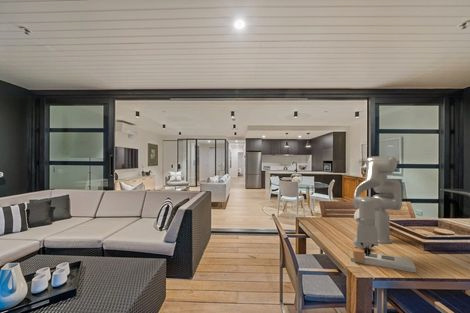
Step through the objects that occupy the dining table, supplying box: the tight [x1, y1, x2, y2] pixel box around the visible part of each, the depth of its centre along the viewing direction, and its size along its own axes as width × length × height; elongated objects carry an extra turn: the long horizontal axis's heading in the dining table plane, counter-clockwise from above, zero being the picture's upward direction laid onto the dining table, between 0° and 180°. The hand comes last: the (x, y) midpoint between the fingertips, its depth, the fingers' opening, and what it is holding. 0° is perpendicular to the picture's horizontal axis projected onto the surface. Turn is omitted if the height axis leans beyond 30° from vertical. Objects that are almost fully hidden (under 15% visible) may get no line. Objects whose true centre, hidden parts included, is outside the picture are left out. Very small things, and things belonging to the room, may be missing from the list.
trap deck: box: [350, 251, 417, 273], centre depth 131 cm, size 13×29×2 cm, turn 62°
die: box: [352, 234, 369, 250], centre depth 151 cm, size 8×9×10 cm
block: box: [351, 247, 364, 261], centre depth 131 cm, size 5×5×4 cm
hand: (367, 255), depth 131 cm, fingers closed
